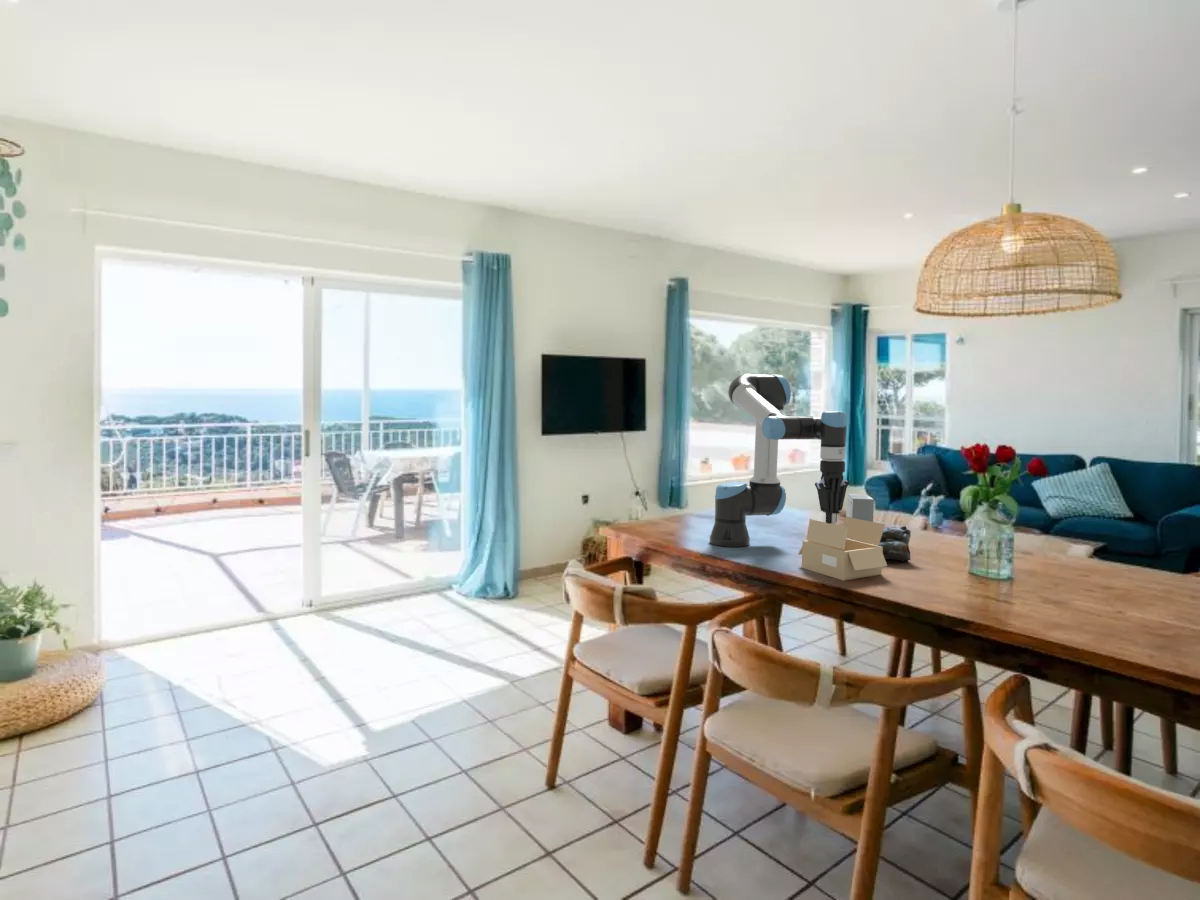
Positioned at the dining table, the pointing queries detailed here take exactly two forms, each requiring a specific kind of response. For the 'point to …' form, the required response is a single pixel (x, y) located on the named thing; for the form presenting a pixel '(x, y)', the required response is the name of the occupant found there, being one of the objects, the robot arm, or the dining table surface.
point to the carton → (843, 559)
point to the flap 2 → (863, 530)
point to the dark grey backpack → (895, 543)
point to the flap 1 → (827, 534)
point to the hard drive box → (860, 507)
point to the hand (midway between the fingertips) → (830, 533)
